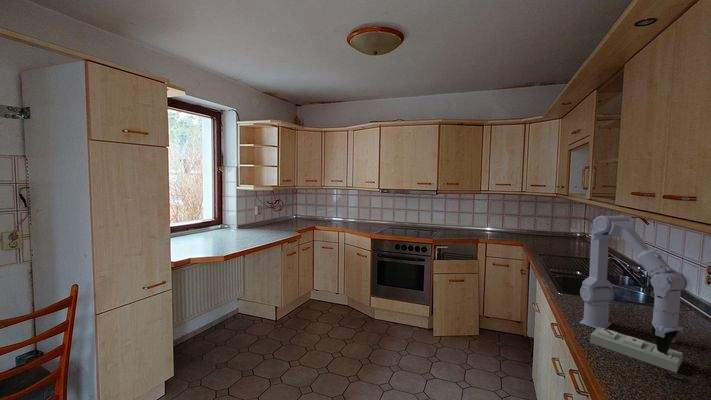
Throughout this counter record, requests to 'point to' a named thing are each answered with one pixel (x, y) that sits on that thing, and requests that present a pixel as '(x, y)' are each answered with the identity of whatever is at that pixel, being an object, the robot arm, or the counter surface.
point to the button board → (638, 351)
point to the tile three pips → (608, 333)
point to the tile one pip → (634, 342)
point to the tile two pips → (669, 354)
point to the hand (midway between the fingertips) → (662, 351)
